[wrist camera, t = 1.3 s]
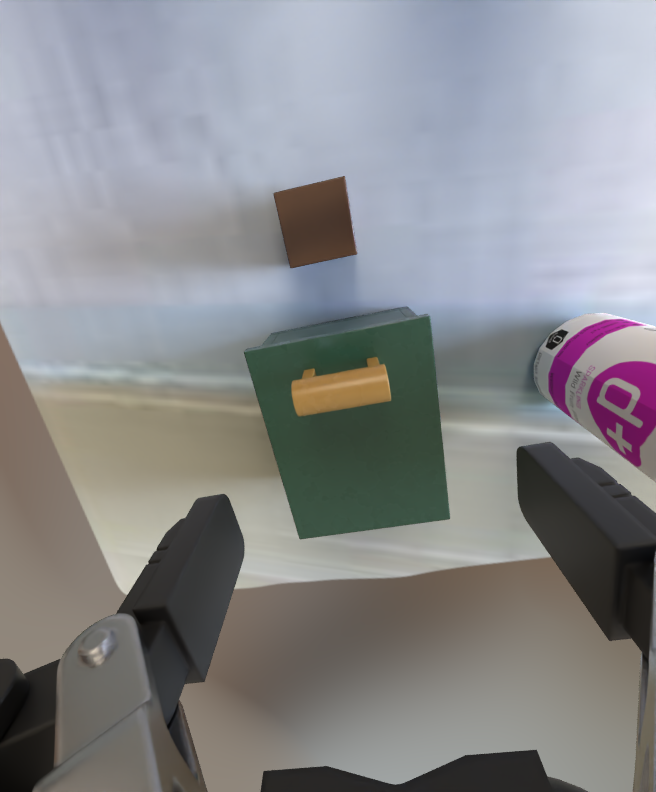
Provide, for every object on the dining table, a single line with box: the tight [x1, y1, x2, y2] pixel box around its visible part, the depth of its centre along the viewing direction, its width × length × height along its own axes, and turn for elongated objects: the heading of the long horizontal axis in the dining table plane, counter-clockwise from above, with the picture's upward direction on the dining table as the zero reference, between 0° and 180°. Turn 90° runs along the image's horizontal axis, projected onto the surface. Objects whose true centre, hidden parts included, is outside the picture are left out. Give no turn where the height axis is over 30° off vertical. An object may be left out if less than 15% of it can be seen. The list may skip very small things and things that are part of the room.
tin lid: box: [244, 314, 450, 539], centre depth 23 cm, size 15×12×6 cm
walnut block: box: [274, 176, 357, 268], centre depth 26 cm, size 5×5×5 cm
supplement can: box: [534, 313, 656, 482], centre depth 24 cm, size 8×8×15 cm
